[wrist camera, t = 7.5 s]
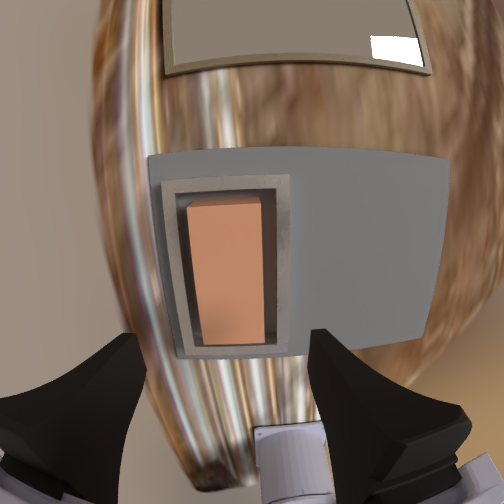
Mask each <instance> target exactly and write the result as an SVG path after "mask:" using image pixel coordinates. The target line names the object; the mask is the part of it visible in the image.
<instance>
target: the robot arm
mask: <svg viewBox="0 0 504 504" xmlns="http://www.w3.org/2000/svg"><path fill="white" fill-rule="evenodd" d="M307 369H308V374H309V380H310V385H311V389H312V392H313V396H314V399H315V402H316V405H317V408H318V411H319V414H320V417H321V420H322V421H319V422H311V423H303V424H293V425H282V426H268V427H257V428H255V429H254V437H255V454H256V466H257V467H260V481H261V499H262V504H503V503H504V481H503V479H502V477H501V476H500V473H499V472H498V470H497V468H496V466H495V464H494V463H493V461H492V460H491V458H490V456H489V454H488V453H487V452H485V453H483V454H481V455H480V456H478V457H476V458H475V459H473V460H471V461H469V462H467V463H466V464H464V465H463V466H461V467H460V468H459V469H457V467H456V465H455V463H456V462H457V461H458V458H457V456H456V454H455V452H456V451H457V450H458V448H459V447H460V446H461V445H462V443H463V442H464V441H465V440H466V438H467V437H468V435H469V434H470V431H471V428H472V423H471V421H470V419H469V418H468V416H467V415H466V414H465V412H464V410H463V409H462V408H461V406H460V405H455V404H451V403H447V402H442V401H438V400H435V399H432V398H429V397H426V396H423V395H421V394H418V393H415V392H413V391H411V390H409V389H407V388H405V387H402V386H400V385H398V384H396V383H395V382H393V381H391V380H389V379H388V378H386V377H384V376H383V375H381V374H379V373H378V372H376V371H375V370H373V369H372V368H371V367H369V366H368V365H367V364H365V363H364V362H363V361H361V360H360V359H359V358H358V357H356V356H355V355H354V354H353V353H352V352H350V351H349V350H348V349H347V348H346V347H345V346H344V345H343V344H342V343H341V342H339V341H338V340H337V339H336V338H335V337H334V336H333V335H332V334H331V333H330V332H329V331H328V330H327V329H326V328H323V329H312V330H311V333H310V345H309V355H308V365H307ZM146 371H147V368H146V365H145V362H144V359H143V356H142V353H141V349H140V346H139V343H138V339H137V336H136V333H122V334H120V335H119V336H118V337H116V338H115V339H113V340H112V341H111V342H110V343H108V344H107V345H106V346H104V347H103V348H102V349H100V350H99V351H98V352H96V353H95V354H94V355H93V356H91V357H90V358H89V359H87V360H85V361H84V362H83V363H81V364H80V365H78V366H77V367H76V368H74V369H73V370H71V371H69V372H68V373H66V374H64V375H63V376H61V377H59V378H57V379H56V380H53V381H51V382H49V383H47V384H44V385H42V386H40V387H38V388H35V389H33V390H30V391H27V392H24V393H20V394H17V395H13V396H9V397H4V398H0V448H1V449H2V450H3V451H4V452H5V454H4V456H3V457H1V456H0V504H118V484H119V474H120V466H121V459H122V453H123V448H124V443H125V438H126V434H127V431H128V427H129V424H130V422H131V419H132V417H133V414H134V411H135V408H136V406H137V403H138V400H139V398H140V395H141V392H142V389H143V385H144V381H145V376H146ZM326 437H327V442H328V448H329V453H330V459H331V465H332V472H333V478H334V487H335V492H334V488H333V484H332V480H331V475H330V471H329V467H328V462H327V458H326V454H325V450H324V443H325V439H326Z"/></svg>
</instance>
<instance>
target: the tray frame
mask: <svg viewBox="0 0 504 504" xmlns="http://www.w3.org/2000/svg"><path fill="white" fill-rule="evenodd" d="M263 188H274V218H275V333H264V335H265V343H249V344H213V345H204V342H203V336H202V335H197V330H196V324H195V317H194V310H193V304H192V296H191V289H190V282H189V274H188V266H187V257H186V248H185V239H184V229H183V219H182V208H181V196H180V193H187V192H201V191H217V190H237V189H263ZM161 189H162V201H163V211H164V221H165V230H166V238H167V246H168V254H169V261H170V268H171V275H172V282H173V288H174V294H175V300H176V306H177V312H178V318H179V323H180V328H181V334H182V339H183V344H184V348H185V353H186V355H243V354H266V353H282V352H288V328H289V293H290V174H288V173H259V174H234V175H215V176H201V177H187V178H176V179H167V180H164V181H161Z"/></svg>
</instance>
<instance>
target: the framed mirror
mask: <svg viewBox="0 0 504 504" xmlns="http://www.w3.org/2000/svg"><path fill="white" fill-rule="evenodd" d="M163 42H164V63H165V75H166V76H167V77H168V76H173V75H178V74H183V73H189V72H194V71H201V70H207V69H214V68H221V67H230V66H239V65H250V64H265V63H292V62H311V63H338V64H352V65H363V66H372V67H380V68H387V69H394V70H400V71H406V72H412V73H417V74H422V75H426V76H430V75H433V73H432V68H431V63H430V58H429V54H428V49H427V45H426V41H425V37H424V34H423V30H422V27H421V23H420V20H419V17H418V13H417V10H416V7H415V4H414V1H413V0H163Z"/></svg>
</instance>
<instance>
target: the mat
mask: <svg viewBox="0 0 504 504" xmlns="http://www.w3.org/2000/svg"><path fill="white" fill-rule="evenodd" d="M148 159H149V173H150V186H151V197H152V207H153V216H154V225H155V233H156V241H157V248H158V255H159V262H160V269H161V275H162V281H163V287H164V293H165V298H166V304H167V309H168V314H169V319H170V324H171V329H172V334H173V339H174V343H175V348H176V352H177V356H178V359H253V358H272V357H287V356H300V355H309V345H310V333H311V330H312V329H323V328H326V329H327V330H328V331H329V332H330V333H331V334H332V335H333V336H334V337H335V338H336V339H337V340H338V341H339V342H341V343H342V344H343V345H344V346H345V347H346V348H347V349H348V350H353V349H360V348H367V347H373V346H379V345H385V344H391V343H396V342H402V341H407V340H412V339H417V338H421V337H422V334H423V331H424V328H425V324H426V321H427V317H428V313H429V310H430V306H431V302H432V298H433V293H434V289H435V284H436V280H437V275H438V270H439V265H440V259H441V253H442V247H443V240H444V233H445V225H446V216H447V206H448V193H449V174H450V159H444V158H437V157H430V156H423V155H416V154H408V153H399V152H390V151H379V150H367V149H353V148H334V147H242V148H222V149H208V150H195V151H184V152H174V153H165V154H157V155H149V156H148ZM259 173H288V174H290V293H289V328H288V352H282V353H266V354H243V355H186V353H185V348H184V344H183V339H182V334H181V328H180V323H179V318H178V312H177V306H176V300H175V294H174V288H173V282H172V275H171V268H170V261H169V254H168V246H167V238H166V230H165V221H164V211H163V201H162V189H161V181H164V180H167V179H176V178H187V177H201V176H215V175H234V174H259ZM180 196H181V208H182V219H183V229H184V239H185V248H186V257H187V266H188V274H189V282H190V289H191V296H192V304H193V310H194V317H195V324H196V330H197V335H202V330H201V323H200V316H199V309H198V302H197V295H196V288H195V280H194V272H193V264H192V255H191V246H190V236H189V226H188V216H187V207H188V206H189V205H190V204H191V203H192V202H193V201H194V200H196V199H207V198H224V197H243V196H258V197H259V200H260V202H261V224H262V256H263V293H264V333H275V218H274V188H263V189H237V190H217V191H201V192H187V193H180Z"/></svg>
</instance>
